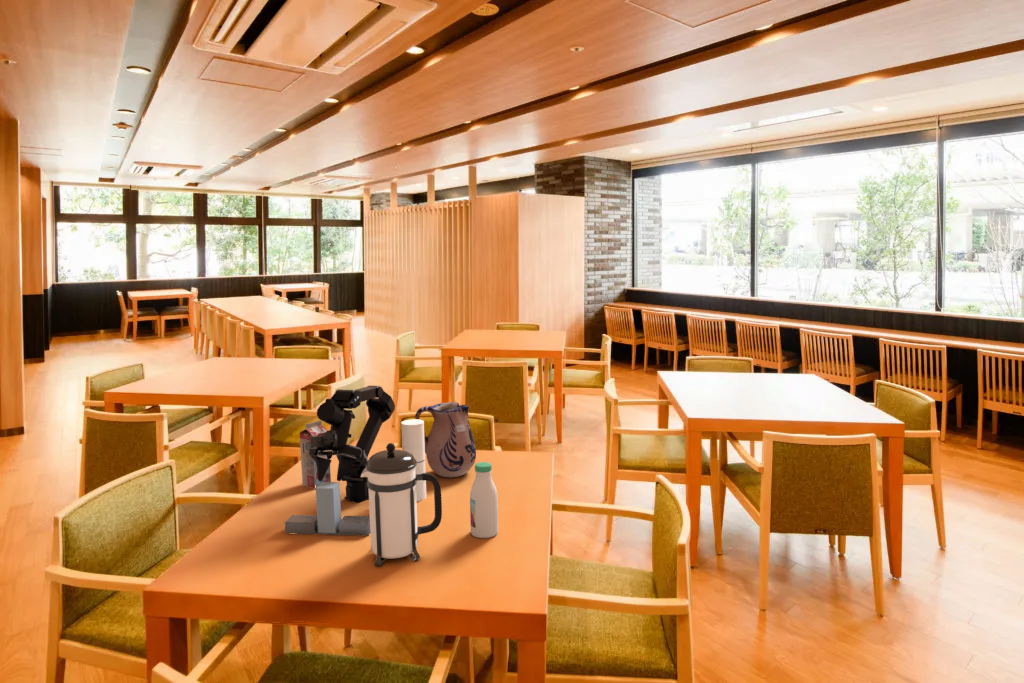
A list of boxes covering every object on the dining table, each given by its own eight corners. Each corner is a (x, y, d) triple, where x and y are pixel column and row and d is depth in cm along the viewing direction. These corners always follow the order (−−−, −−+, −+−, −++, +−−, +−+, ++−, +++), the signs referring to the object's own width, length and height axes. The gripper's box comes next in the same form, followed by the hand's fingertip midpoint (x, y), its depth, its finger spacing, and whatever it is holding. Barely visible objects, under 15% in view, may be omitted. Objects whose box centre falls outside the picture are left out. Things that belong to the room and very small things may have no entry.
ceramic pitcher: (479, 480, 221) (477, 410, 217) (417, 484, 217) (415, 413, 214) (473, 464, 238) (472, 399, 235) (416, 468, 234) (414, 402, 231)
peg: (324, 525, 184) (322, 482, 182) (341, 525, 183) (339, 482, 181) (318, 532, 179) (315, 488, 177) (335, 533, 178) (333, 488, 177)
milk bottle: (502, 529, 181) (501, 461, 178) (492, 540, 173) (491, 469, 171) (477, 525, 183) (475, 458, 180) (466, 537, 176) (464, 467, 173)
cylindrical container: (399, 499, 204) (396, 423, 201) (411, 492, 210) (408, 418, 207) (419, 502, 201) (416, 425, 198) (430, 494, 208) (427, 420, 205)
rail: (293, 526, 184) (292, 514, 184) (373, 528, 182) (373, 516, 182) (285, 534, 179) (284, 521, 179) (368, 535, 178) (368, 523, 177)
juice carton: (331, 483, 220) (327, 421, 217) (315, 489, 214) (312, 425, 212) (318, 480, 224) (314, 418, 221) (302, 485, 218) (298, 423, 215)
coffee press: (400, 575, 155) (395, 456, 151) (353, 559, 163) (347, 446, 160) (444, 547, 170) (441, 438, 166) (399, 534, 178) (395, 430, 174)
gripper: (299, 424, 194) (287, 476, 188) (337, 420, 182) (325, 475, 177) (329, 433, 202) (319, 482, 196) (367, 430, 190) (357, 482, 185)
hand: (329, 480), depth 188 cm, fingers open, 9 cm apart
